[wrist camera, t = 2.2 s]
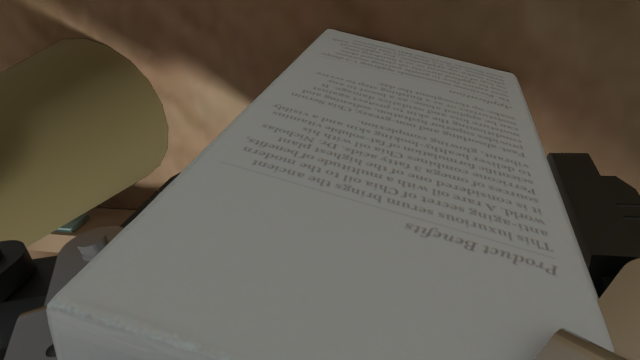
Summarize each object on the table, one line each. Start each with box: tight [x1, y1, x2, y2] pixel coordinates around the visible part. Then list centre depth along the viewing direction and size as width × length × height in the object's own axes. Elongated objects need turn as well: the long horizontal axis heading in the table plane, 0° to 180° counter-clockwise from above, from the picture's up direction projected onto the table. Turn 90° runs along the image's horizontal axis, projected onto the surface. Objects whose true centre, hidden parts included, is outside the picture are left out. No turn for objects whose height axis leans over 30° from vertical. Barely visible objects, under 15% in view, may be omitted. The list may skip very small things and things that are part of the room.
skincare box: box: [46, 29, 614, 360], centre depth 10 cm, size 6×4×12 cm
